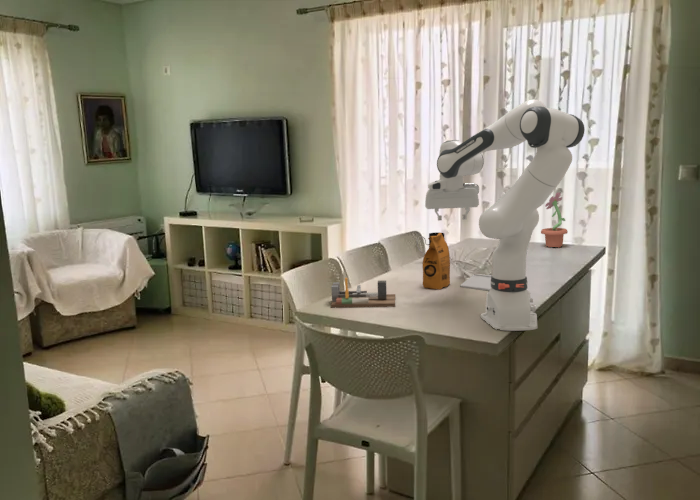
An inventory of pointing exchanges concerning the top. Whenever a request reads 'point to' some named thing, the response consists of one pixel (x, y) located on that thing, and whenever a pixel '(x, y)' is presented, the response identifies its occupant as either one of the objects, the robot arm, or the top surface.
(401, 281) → the top surface
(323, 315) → the top surface
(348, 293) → the orange angled bar
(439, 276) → the coffee package
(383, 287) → the grey notched block
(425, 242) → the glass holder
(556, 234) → the decorative flower
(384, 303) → the gauge base
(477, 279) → the gadget
